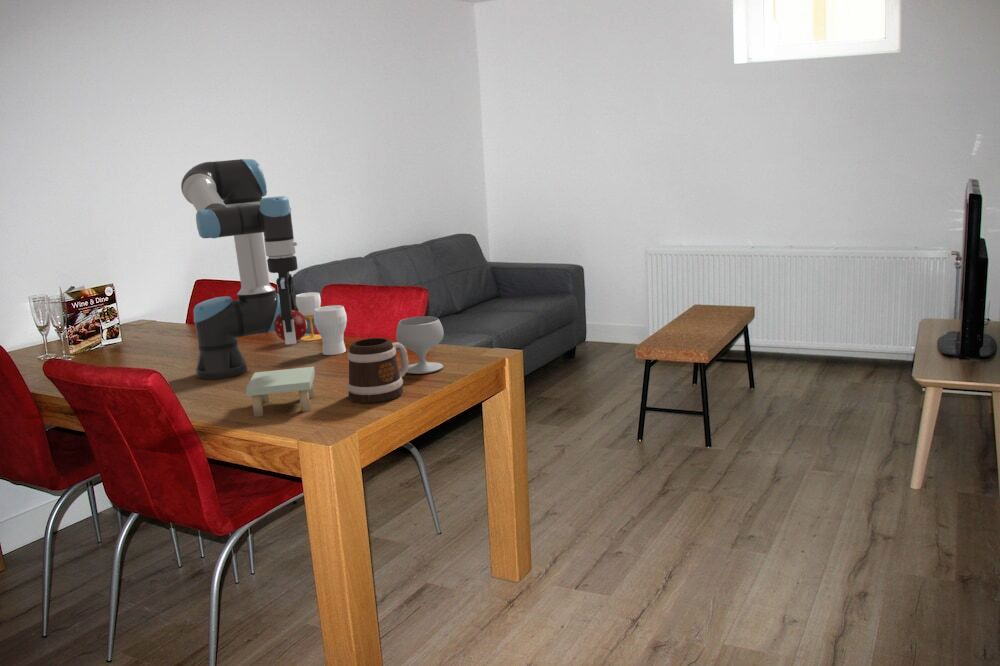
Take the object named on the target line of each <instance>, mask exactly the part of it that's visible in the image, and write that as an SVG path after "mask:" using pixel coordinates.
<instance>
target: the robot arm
mask: <svg viewBox="0 0 1000 666" xmlns="http://www.w3.org/2000/svg"><path fill="white" fill-rule="evenodd" d="M180 188H181V192H182V193H181V194H182V195H183V197H184V199H185V200H186V201H187V202H188V203H190V204H191V205H193V207H194V208H195V211H196V214H195V222H196V228H197V232H198V236H199V237H201V238H202V239H218V238H219V239H220V238H225V237H233V238H234V240H233V241H234V245H235V253H236V259H237V267H238V271H239V272H238V274H239V280H240V286H241V287H240V290H239V291H238V292H237V299H234V300H233V298H232V297H231V296H228V295H227V296H226V295H225V296H218V297H213V298H210V299H206V300H204V301H201V302H199V303H197V304H195V306H194V308H193V322H194V324H195V325H194V326H195V332H196V339H197V345H198V346H197V347H198V357H197V363H196V368H195V371H196V377H197V378H198V379H200V378H201V379H202V380H218V379H219V380H220V379H226V378H232V377H234V376H239V375H241V374H244V373H245V372H247V370H248V365H247V361H246V359H245V357H244V355H243V354H242V350H241V349H240V347H239V344H238V338H242V337H248V336H253V335H261V334H269V333H272V332H275V329H274V323H275V320H276V318H277V316H278V315H279V314H280V313H281V318H279V319H280V321H283V328H284V335H285V345H294V344H295V345H296V344H297V341H296V336H295V328H294V320H293V319H292V318H293V316H292V310H296V311H298V308H296V307H297V305H296V299H295V295H294V285H293V283H294V277H293V276H292V274H291V273H290V272H294V271H295V272H296V270H298V267H299V266H298V260H297V256H296V246H298V243H297V241H295V238H294V229H293V222H292V220H293V219H292V215H291V214H292V208H291V205H290V200H289V198H288V197H287V196H285V195H283V196H270V197H266V196H267V194H268V190H267V182H266V178H265V176H264V172H263V169H262V167H261V165H260V164H259V162H258V161H257V160H256V159H253V158H251V159H249V158H246V159H245V158H244V159H243V158H239V159H230V160H229V159H228V160H218V161H217V160H216V161H205V162H202V163H199V164H197V165H194V166H192V168H190V169H189V170H188V171H187V172H185V174H184V176H183V178H182V179H181V184H180ZM294 241H295V242H294ZM266 256H267V257H268V258H267V257H266ZM269 273H271V274H277V275H278V277H276V281H275V282H276V283H275V284H276V286H277V291H278V292H276V288H275V287H273V286H272V285H271V284H270V279H269V277H270V276H269ZM298 312H299V311H298Z"/></svg>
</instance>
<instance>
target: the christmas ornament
mask: <svg viewBox="0 0 1000 666" xmlns="http://www.w3.org/2000/svg"><path fill="white" fill-rule="evenodd" d="M292 316H293V318H292V319H293V320H294V328H295V336H296V342H298V341H299V340H300V339H301V338H302V337H305V336H306V334H307V330H308V322H307V318H305V317H304V316H303V315H302V314H301V313H300V312H299V311H296V310H292ZM279 318H281V313H280V314H279V315H278V316H277V318H276V320H275V323H274V329H275V331H274V332H275V334H276V336H277V337H278V338H279V339H280V340H282V341H285V335H284V328H283V321H280V319H279Z"/></svg>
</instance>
